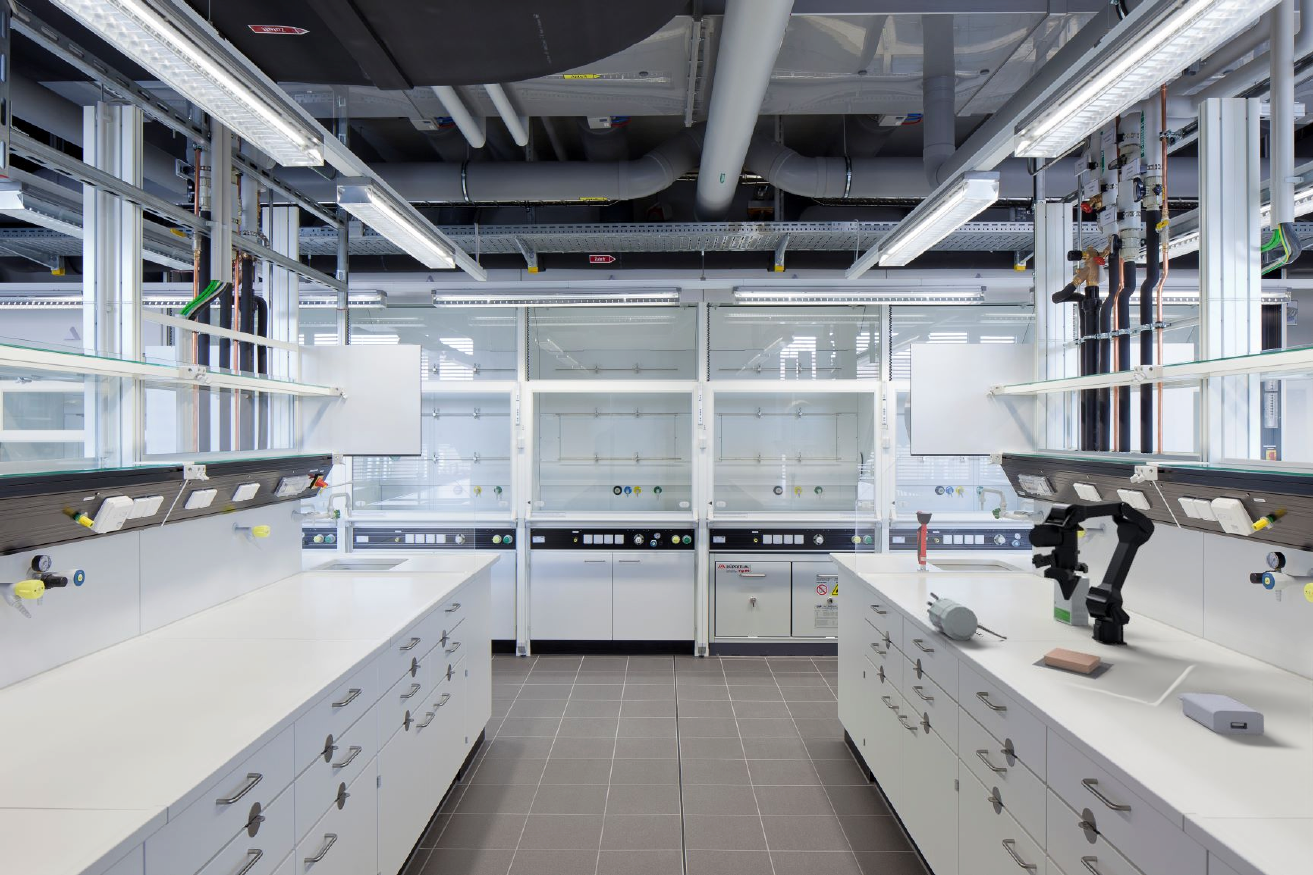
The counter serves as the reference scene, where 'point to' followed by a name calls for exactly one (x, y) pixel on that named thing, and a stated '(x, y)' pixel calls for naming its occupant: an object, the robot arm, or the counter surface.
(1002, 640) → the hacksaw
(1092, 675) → the mat
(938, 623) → the device
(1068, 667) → the tile
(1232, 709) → the charger
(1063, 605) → the skincare box
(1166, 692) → the counter surface
